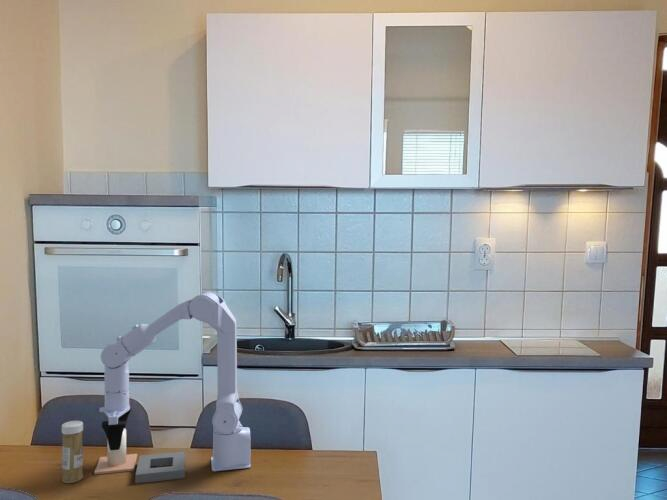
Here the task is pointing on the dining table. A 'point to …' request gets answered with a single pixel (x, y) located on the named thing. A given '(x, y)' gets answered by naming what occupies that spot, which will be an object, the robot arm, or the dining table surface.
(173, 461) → the grey square frame
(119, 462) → the plug
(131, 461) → the tile
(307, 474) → the dining table surface
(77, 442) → the sprinkles bottle
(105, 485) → the dining table surface
